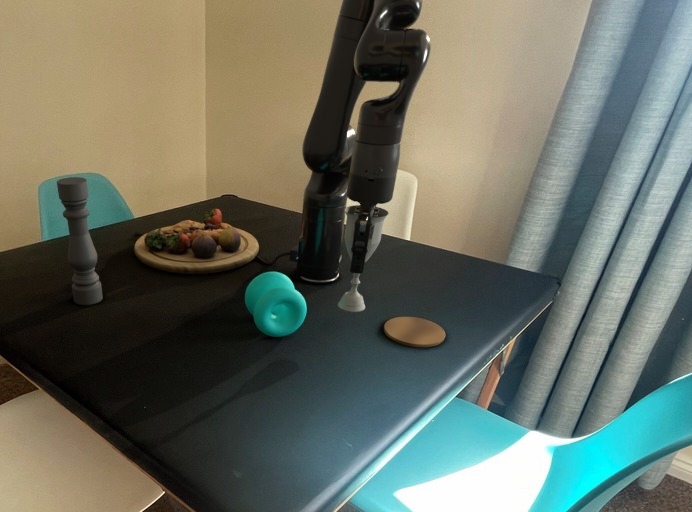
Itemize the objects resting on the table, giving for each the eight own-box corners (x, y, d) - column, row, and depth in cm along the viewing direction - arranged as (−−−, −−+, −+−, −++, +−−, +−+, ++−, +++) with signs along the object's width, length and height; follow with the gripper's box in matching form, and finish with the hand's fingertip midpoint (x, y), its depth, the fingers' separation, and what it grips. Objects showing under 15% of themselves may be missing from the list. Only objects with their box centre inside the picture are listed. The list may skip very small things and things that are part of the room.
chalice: (373, 301, 106) (390, 207, 96) (369, 316, 100) (386, 219, 91) (335, 295, 108) (347, 203, 98) (328, 310, 102) (341, 214, 93)
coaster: (382, 342, 102) (383, 339, 101) (384, 316, 111) (385, 313, 110) (446, 350, 99) (447, 348, 99) (443, 323, 108) (443, 320, 108)
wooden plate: (185, 224, 162) (184, 195, 157) (281, 245, 146) (283, 214, 141) (108, 257, 140) (104, 225, 135) (210, 287, 124) (210, 252, 119)
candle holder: (108, 295, 121) (94, 178, 107) (91, 307, 116) (75, 186, 103) (84, 290, 123) (68, 175, 110) (67, 302, 118) (48, 183, 105)
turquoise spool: (290, 313, 112) (294, 267, 107) (306, 337, 104) (310, 288, 99) (242, 317, 111) (243, 271, 106) (254, 342, 102) (256, 293, 97)
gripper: (354, 158, 97) (341, 249, 106) (345, 178, 86) (331, 278, 95) (398, 162, 95) (382, 254, 104) (395, 182, 84) (376, 284, 93)
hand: (358, 265), depth 100 cm, fingers closed on chalice, 5 cm apart
